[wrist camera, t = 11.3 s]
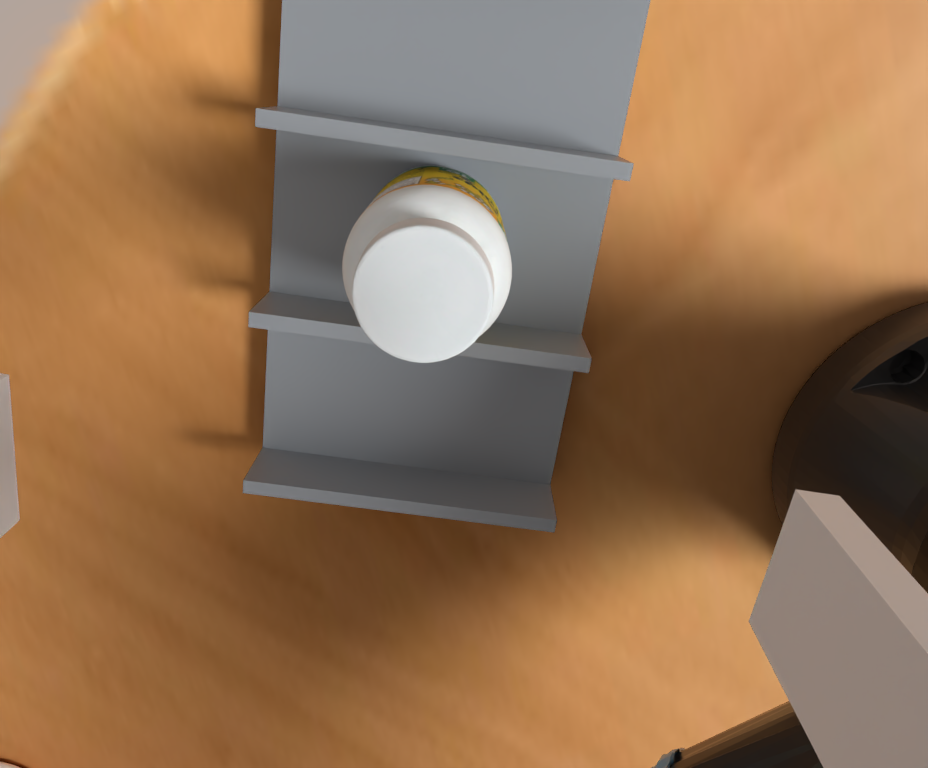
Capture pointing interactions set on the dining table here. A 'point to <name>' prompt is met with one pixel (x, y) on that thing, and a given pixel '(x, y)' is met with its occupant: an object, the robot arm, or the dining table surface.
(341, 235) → the rack
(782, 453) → the robot arm
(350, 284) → the supplement bottle
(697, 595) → the dining table surface
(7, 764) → the jar
